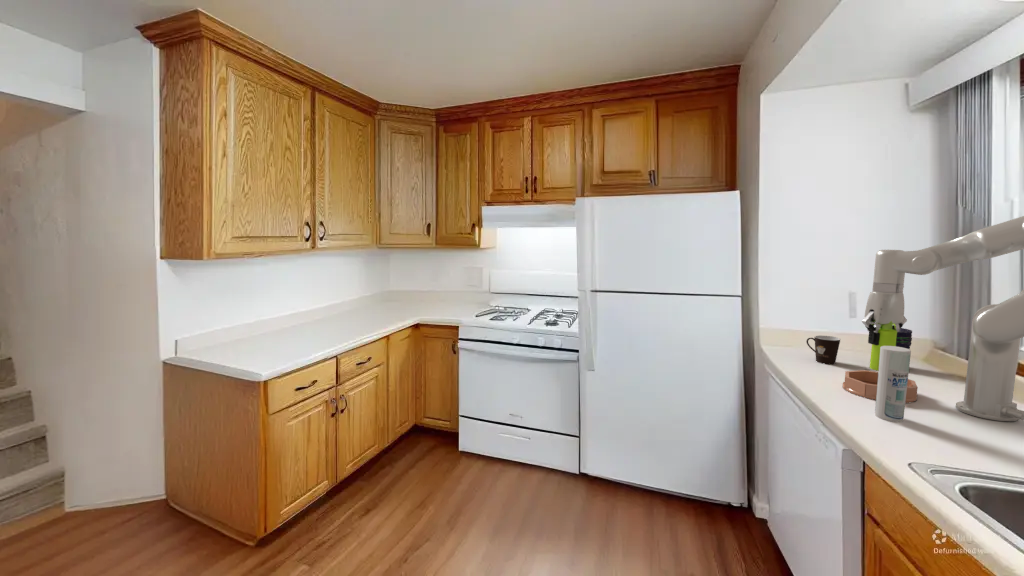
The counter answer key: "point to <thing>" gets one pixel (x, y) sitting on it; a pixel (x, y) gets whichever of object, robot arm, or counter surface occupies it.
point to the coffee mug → (825, 348)
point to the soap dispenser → (882, 343)
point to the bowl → (872, 385)
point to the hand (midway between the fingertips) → (882, 343)
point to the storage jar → (904, 338)
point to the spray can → (892, 383)
